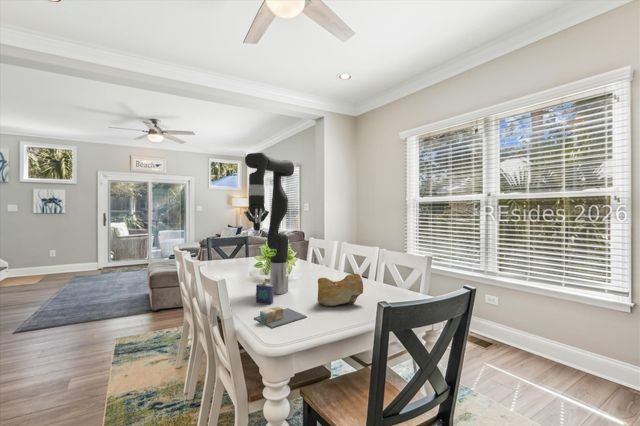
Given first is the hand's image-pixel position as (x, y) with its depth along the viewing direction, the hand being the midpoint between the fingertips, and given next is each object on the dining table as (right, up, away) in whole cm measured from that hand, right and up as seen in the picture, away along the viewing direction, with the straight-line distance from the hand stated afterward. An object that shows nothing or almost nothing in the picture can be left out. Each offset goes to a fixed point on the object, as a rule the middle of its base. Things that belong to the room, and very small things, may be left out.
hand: (256, 230), depth 148 cm
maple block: (+13, -35, -14) cm, 40 cm away
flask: (+2, -37, +7) cm, 38 cm away
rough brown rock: (+40, -37, +9) cm, 55 cm away
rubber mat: (+13, -37, -14) cm, 42 cm away
